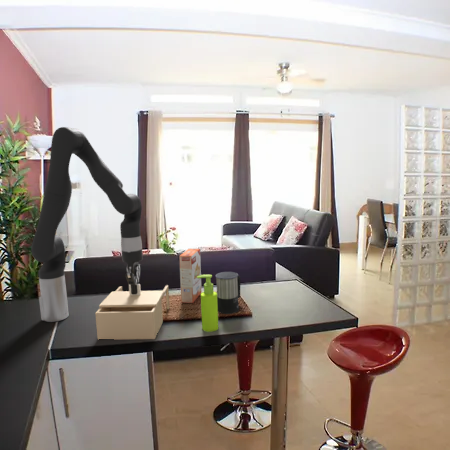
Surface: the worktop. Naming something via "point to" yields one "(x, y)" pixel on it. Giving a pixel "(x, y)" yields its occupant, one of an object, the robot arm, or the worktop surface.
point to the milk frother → (228, 292)
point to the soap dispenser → (209, 306)
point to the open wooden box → (130, 321)
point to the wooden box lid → (132, 298)
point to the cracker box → (190, 275)
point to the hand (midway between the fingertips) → (135, 292)
